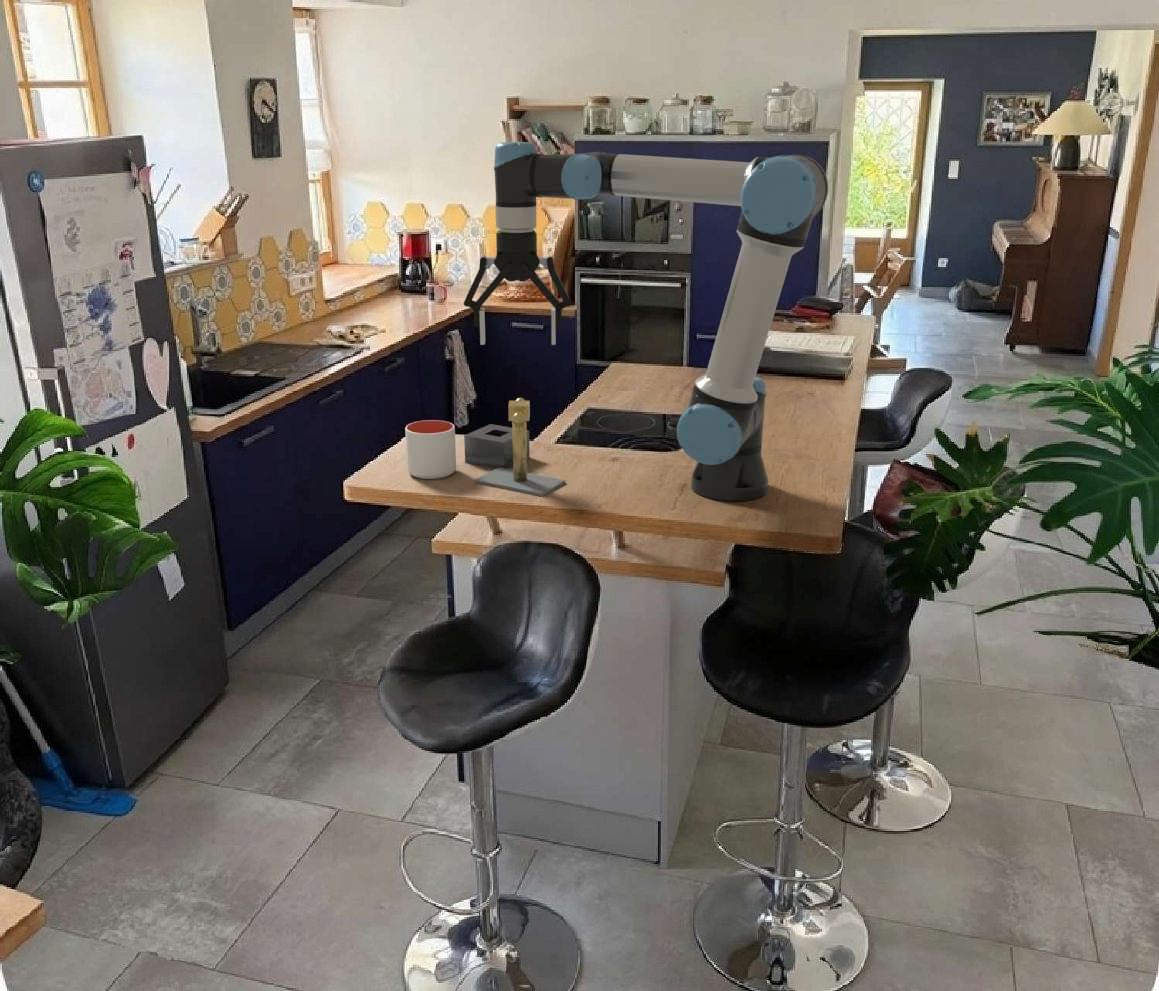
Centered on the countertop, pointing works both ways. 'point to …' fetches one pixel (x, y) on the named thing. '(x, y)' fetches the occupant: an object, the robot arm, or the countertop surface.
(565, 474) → the countertop surface
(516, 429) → the brass ball-end t-bar
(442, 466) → the cup
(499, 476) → the mat
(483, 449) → the block
